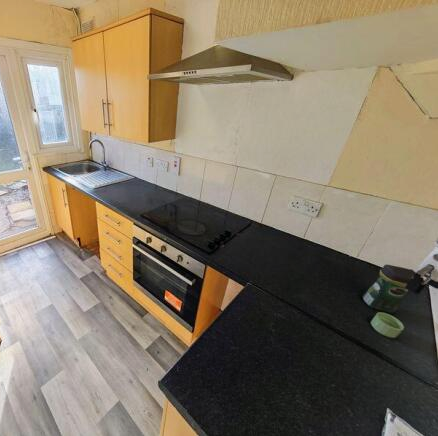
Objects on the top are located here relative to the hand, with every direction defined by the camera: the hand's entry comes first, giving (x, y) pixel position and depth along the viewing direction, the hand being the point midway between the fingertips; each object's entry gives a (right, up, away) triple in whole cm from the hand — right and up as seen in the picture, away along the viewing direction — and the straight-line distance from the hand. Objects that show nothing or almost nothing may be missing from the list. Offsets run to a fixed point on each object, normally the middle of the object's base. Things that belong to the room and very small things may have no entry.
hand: (421, 288), depth 72 cm
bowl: (-3, -17, +9) cm, 20 cm away
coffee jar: (+5, -13, +19) cm, 23 cm away
